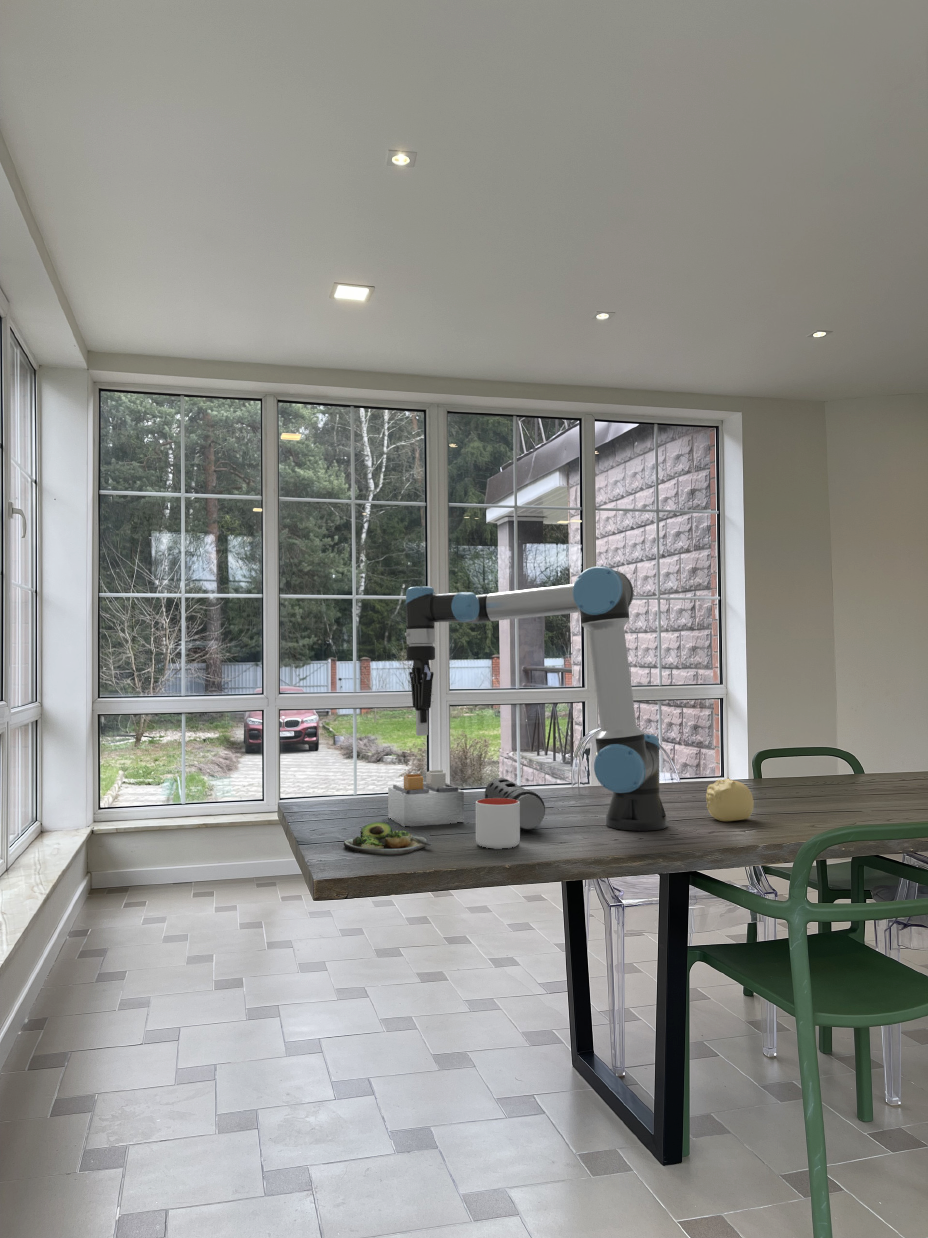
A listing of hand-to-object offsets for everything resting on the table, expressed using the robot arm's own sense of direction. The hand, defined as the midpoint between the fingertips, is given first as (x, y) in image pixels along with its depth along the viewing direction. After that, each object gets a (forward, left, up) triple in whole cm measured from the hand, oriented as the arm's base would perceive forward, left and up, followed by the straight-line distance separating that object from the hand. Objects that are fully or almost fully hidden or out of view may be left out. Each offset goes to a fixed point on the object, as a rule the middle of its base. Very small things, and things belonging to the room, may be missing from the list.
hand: (422, 735), depth 242 cm
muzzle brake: (-15, -20, -22) cm, 33 cm away
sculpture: (-30, -75, -22) cm, 83 cm away
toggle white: (+2, -5, -14) cm, 15 cm away
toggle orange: (-3, +3, -14) cm, 14 cm away
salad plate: (-28, +18, -23) cm, 40 cm away
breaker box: (-1, -1, -22) cm, 22 cm away
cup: (-37, -6, -22) cm, 43 cm away
